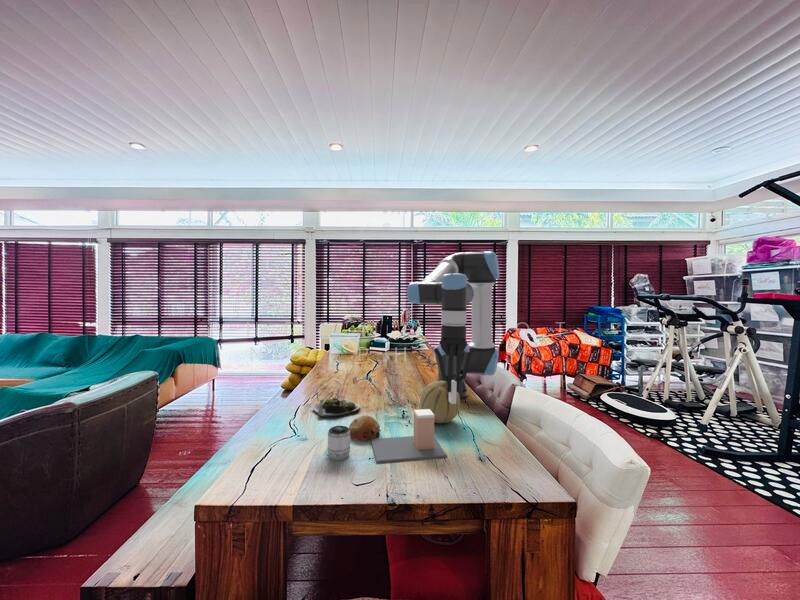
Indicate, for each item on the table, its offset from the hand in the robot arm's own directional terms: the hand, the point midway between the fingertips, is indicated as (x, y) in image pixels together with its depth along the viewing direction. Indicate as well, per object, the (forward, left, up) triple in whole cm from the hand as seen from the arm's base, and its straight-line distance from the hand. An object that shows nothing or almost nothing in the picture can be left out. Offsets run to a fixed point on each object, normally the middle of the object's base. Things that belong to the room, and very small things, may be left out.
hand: (452, 402), depth 103 cm
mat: (+14, 0, -13) cm, 19 cm away
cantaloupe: (-2, -19, -14) cm, 24 cm away
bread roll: (+25, -12, -14) cm, 31 cm away
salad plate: (+35, -37, -14) cm, 52 cm away
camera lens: (+34, +1, -14) cm, 36 cm away
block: (+9, 0, -13) cm, 15 cm away
